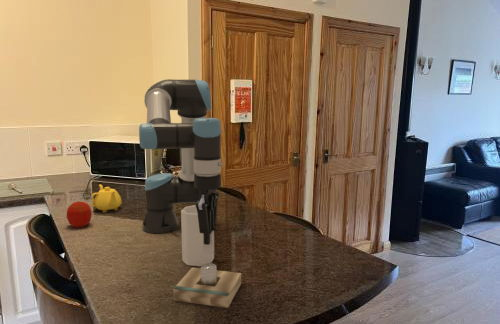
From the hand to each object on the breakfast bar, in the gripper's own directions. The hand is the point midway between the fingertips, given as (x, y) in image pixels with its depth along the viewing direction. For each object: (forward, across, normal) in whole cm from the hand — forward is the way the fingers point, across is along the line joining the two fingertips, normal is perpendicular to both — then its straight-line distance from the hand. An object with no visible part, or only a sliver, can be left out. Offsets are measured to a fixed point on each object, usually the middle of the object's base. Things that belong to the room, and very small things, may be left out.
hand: (208, 253), depth 111 cm
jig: (+12, 0, 0) cm, 12 cm away
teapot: (+12, +64, +77) cm, 101 cm away
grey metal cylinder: (+12, 0, 0) cm, 12 cm away
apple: (+12, +40, +74) cm, 85 cm away
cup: (+12, +20, +11) cm, 26 cm away
